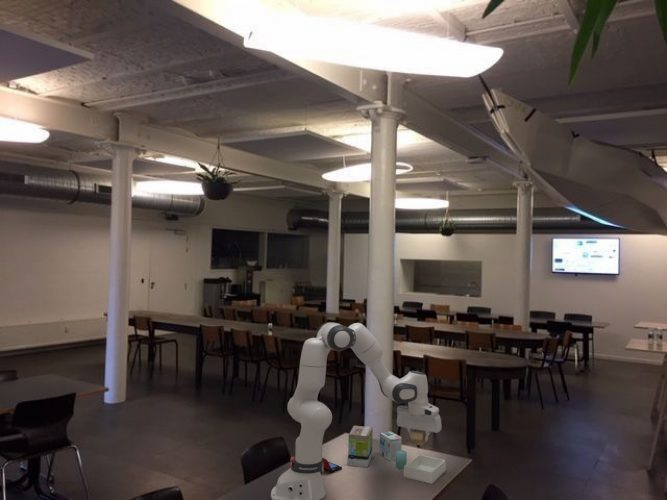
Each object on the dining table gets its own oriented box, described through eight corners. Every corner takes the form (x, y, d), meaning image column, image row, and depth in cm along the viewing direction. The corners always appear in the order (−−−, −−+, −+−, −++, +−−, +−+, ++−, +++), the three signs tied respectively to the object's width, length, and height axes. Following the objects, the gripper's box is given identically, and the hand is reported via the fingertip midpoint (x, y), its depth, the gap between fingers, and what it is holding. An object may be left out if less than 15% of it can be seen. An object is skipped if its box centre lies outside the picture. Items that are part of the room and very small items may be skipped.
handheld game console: (343, 469, 240) (343, 453, 241) (326, 476, 233) (326, 459, 233) (324, 462, 249) (324, 446, 249) (307, 468, 242) (307, 452, 242)
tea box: (368, 467, 242) (368, 435, 243) (347, 465, 244) (347, 434, 245) (372, 456, 257) (372, 426, 258) (352, 454, 259) (352, 424, 260)
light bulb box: (379, 454, 260) (379, 432, 260) (390, 452, 263) (390, 430, 263) (390, 461, 250) (390, 439, 250) (402, 459, 253) (402, 437, 253)
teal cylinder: (396, 469, 241) (396, 453, 241) (395, 465, 246) (395, 450, 246) (407, 469, 241) (407, 454, 241) (406, 465, 246) (406, 450, 246)
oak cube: (422, 445, 227) (421, 434, 227) (411, 443, 229) (411, 432, 229) (426, 442, 231) (426, 430, 231) (416, 440, 234) (415, 429, 234)
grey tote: (431, 484, 224) (431, 472, 224) (403, 477, 231) (403, 466, 231) (445, 471, 239) (445, 460, 239) (418, 465, 246) (418, 454, 246)
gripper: (393, 406, 233) (394, 437, 233) (437, 412, 222) (438, 445, 222) (399, 403, 239) (400, 433, 238) (442, 409, 228) (443, 440, 227)
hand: (419, 439), depth 230 cm, fingers closed on oak cube, 5 cm apart
